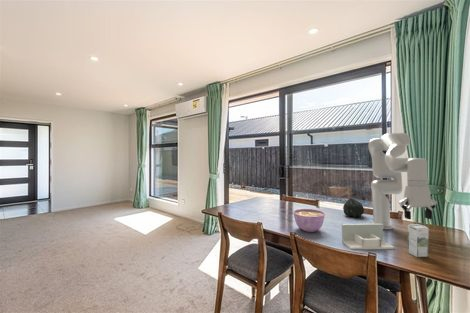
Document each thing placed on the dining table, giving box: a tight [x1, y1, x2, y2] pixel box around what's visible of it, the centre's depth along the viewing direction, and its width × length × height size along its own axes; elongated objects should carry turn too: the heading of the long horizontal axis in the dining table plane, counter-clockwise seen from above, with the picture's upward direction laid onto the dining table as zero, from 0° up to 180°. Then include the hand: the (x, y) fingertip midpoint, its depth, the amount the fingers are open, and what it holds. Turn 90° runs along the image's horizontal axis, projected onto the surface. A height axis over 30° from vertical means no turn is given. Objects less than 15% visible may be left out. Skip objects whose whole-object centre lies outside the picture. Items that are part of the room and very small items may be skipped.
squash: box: [342, 197, 365, 218], centre depth 177 cm, size 14×15×15 cm
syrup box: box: [407, 223, 429, 258], centre depth 109 cm, size 6×6×14 cm
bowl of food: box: [292, 208, 326, 233], centre depth 148 cm, size 20×20×12 cm
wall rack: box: [341, 223, 395, 250], centre depth 122 cm, size 11×22×10 cm, turn 88°
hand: (418, 218), depth 108 cm, fingers open, 9 cm apart
